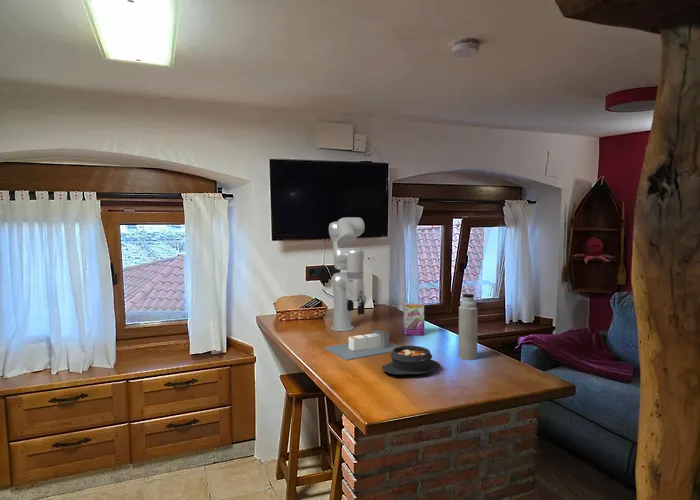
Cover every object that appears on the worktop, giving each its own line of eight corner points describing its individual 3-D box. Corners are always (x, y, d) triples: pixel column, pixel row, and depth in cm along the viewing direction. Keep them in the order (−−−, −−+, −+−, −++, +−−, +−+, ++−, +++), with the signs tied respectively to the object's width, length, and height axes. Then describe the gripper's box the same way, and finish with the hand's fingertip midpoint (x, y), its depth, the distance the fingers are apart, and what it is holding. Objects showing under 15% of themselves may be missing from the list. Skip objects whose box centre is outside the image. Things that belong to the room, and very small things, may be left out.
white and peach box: (348, 348, 216) (348, 336, 216) (361, 346, 219) (361, 334, 219) (353, 351, 212) (353, 338, 211) (366, 348, 215) (366, 336, 215)
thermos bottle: (459, 353, 208) (459, 292, 206) (477, 355, 205) (478, 293, 203) (457, 359, 200) (458, 295, 198) (476, 360, 198) (477, 296, 196)
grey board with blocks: (324, 348, 219) (323, 333, 219) (380, 338, 235) (379, 325, 234) (346, 360, 200) (346, 344, 199) (405, 349, 216) (405, 334, 215)
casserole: (397, 383, 172) (397, 361, 172) (372, 369, 189) (372, 349, 188) (450, 372, 184) (450, 351, 183) (422, 359, 200) (422, 340, 200)
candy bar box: (403, 335, 241) (403, 304, 240) (403, 333, 246) (402, 302, 245) (424, 335, 240) (424, 304, 239) (424, 333, 245) (424, 303, 244)
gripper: (339, 274, 218) (339, 310, 219) (357, 278, 203) (358, 316, 204) (352, 273, 222) (353, 308, 223) (372, 277, 207) (372, 314, 208)
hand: (355, 312), depth 214 cm, fingers open, 9 cm apart
